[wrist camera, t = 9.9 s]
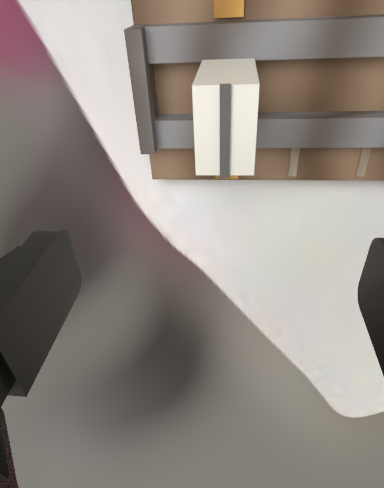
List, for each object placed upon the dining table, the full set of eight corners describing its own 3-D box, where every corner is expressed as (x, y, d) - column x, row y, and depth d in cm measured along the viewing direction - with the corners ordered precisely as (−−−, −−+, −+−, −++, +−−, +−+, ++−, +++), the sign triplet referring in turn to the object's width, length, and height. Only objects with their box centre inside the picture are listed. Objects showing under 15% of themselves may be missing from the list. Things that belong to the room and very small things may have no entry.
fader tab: (252, 48, 23) (260, 84, 16) (249, 119, 26) (254, 178, 19) (205, 50, 23) (191, 85, 16) (207, 120, 26) (195, 177, 19)
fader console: (595, -67, 20) (673, -75, 16) (485, 168, 28) (520, 197, 25) (134, -39, 23) (114, -40, 19) (156, 168, 31) (146, 194, 28)
